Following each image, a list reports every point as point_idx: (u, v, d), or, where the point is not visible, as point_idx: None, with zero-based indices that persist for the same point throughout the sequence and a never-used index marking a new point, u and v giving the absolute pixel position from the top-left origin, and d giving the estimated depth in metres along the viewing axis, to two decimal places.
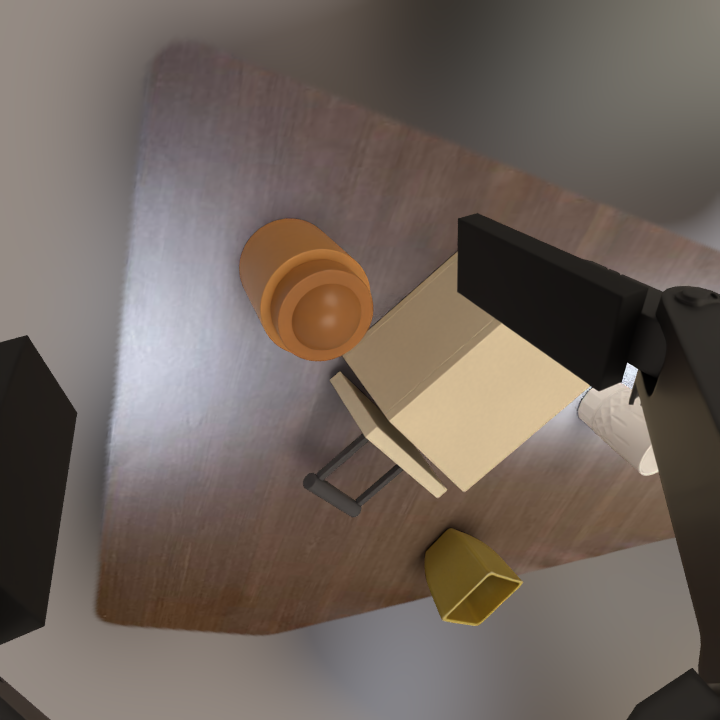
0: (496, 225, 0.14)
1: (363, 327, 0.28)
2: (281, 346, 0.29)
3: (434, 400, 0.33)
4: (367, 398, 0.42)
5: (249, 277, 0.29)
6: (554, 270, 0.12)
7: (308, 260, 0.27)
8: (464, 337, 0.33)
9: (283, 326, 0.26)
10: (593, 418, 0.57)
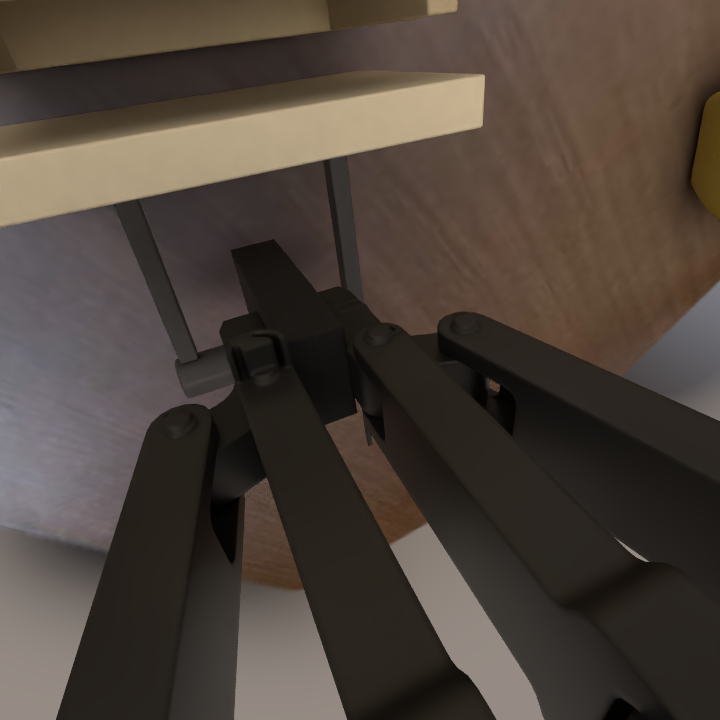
0: (277, 253, 0.14)
1: None
2: None
3: None
4: (137, 106, 0.15)
5: None
6: None
7: None
8: None
9: None
10: None
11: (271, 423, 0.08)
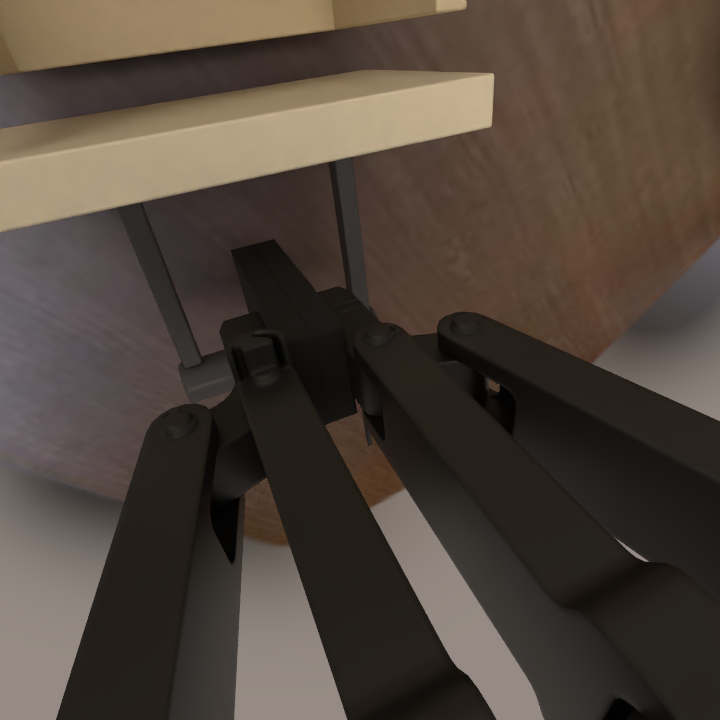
0: (278, 253, 0.14)
1: None
2: None
3: None
4: (139, 107, 0.15)
5: None
6: None
7: None
8: None
9: None
10: None
11: (271, 423, 0.08)
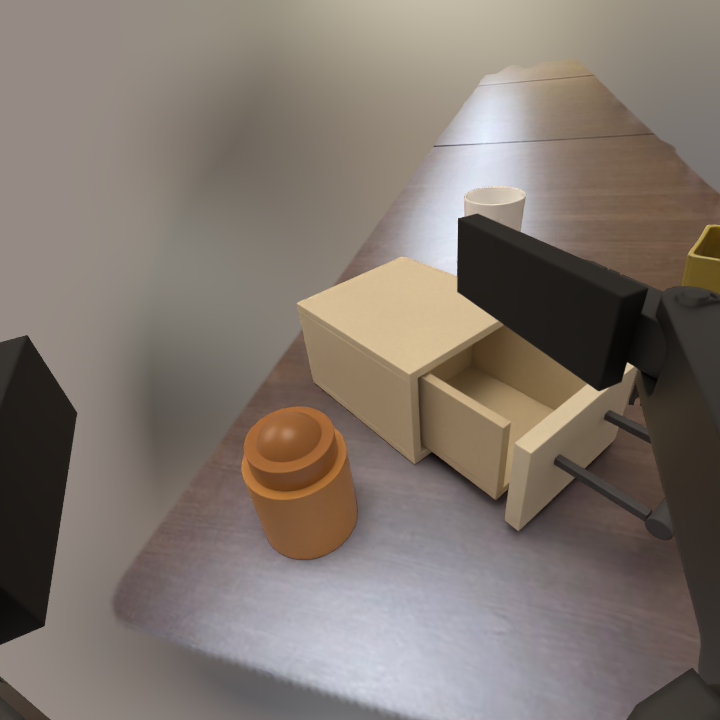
0: (496, 225, 0.14)
1: (307, 411, 0.32)
2: (328, 481, 0.29)
3: (393, 347, 0.35)
4: None
5: (283, 531, 0.30)
6: (554, 270, 0.12)
7: (249, 464, 0.31)
8: (345, 346, 0.39)
9: (284, 468, 0.28)
10: None
11: None
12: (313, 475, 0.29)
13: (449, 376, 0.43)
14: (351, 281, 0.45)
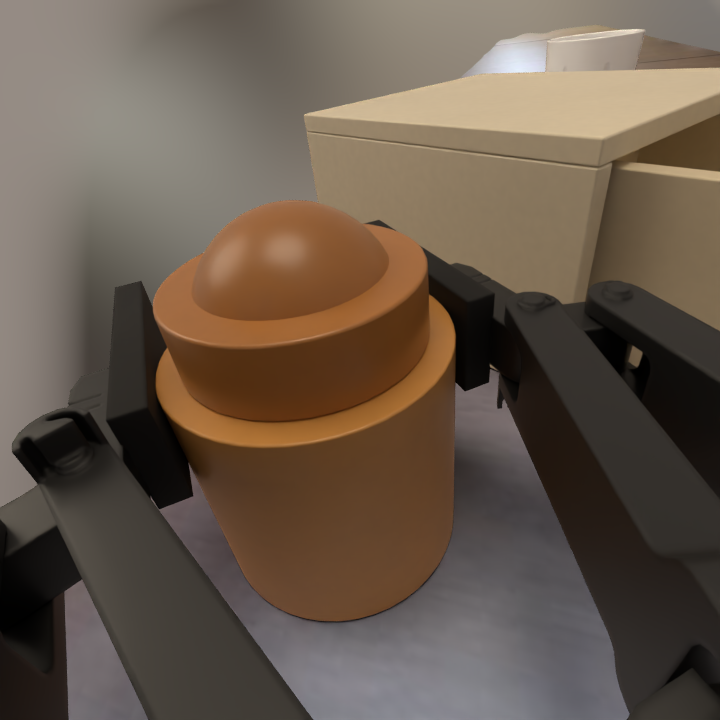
0: None
1: None
2: (418, 393, 0.09)
3: (530, 120, 0.15)
4: None
5: (277, 549, 0.10)
6: None
7: None
8: (407, 158, 0.19)
9: (278, 334, 0.08)
10: None
11: (88, 519, 0.07)
12: (373, 368, 0.09)
13: None
14: (400, 93, 0.25)
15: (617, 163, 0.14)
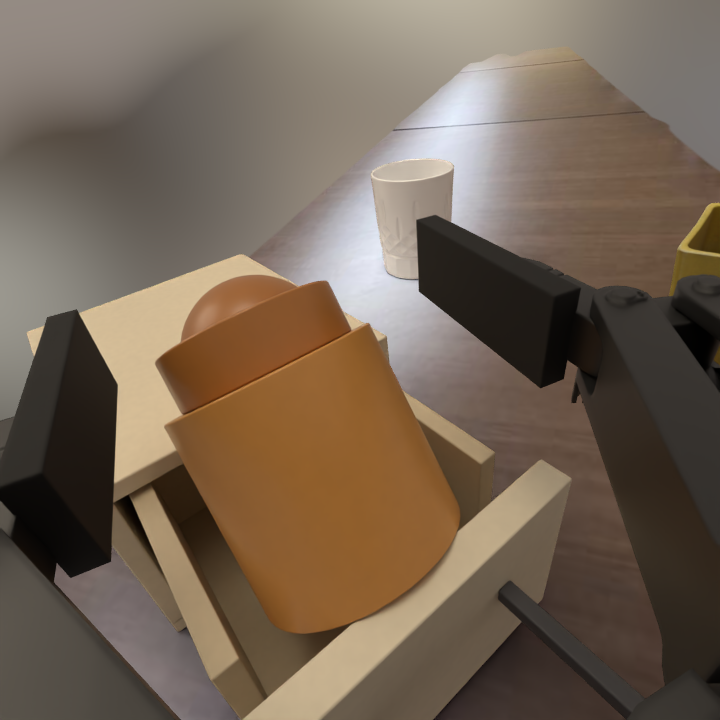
0: (451, 226, 0.14)
1: None
2: (319, 348, 0.12)
3: None
4: None
5: (256, 526, 0.12)
6: (498, 270, 0.12)
7: None
8: None
9: None
10: None
11: None
12: (280, 337, 0.12)
13: None
14: (137, 294, 0.28)
15: (141, 491, 0.17)
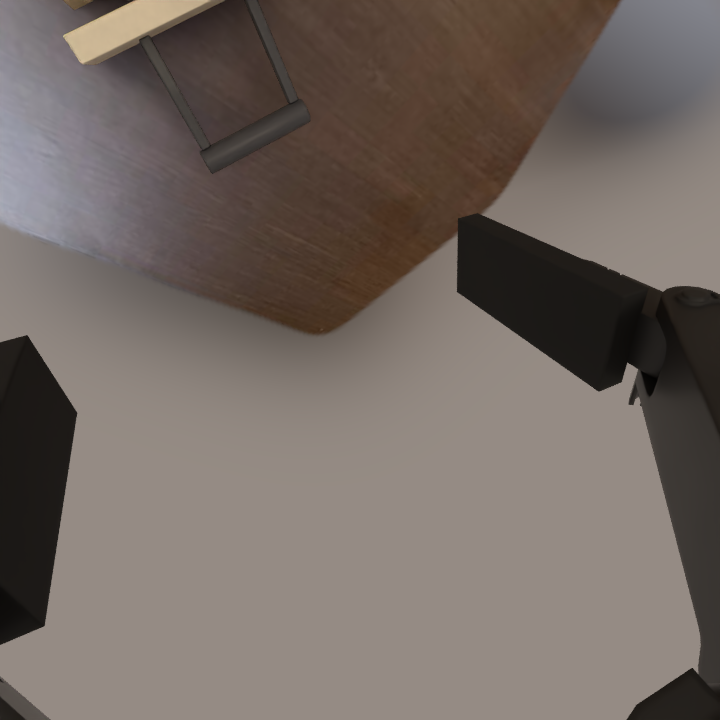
0: (496, 225, 0.14)
1: None
2: None
3: None
4: None
5: None
6: (554, 270, 0.12)
7: None
8: None
9: None
10: None
11: None
12: None
13: None
14: None
15: None
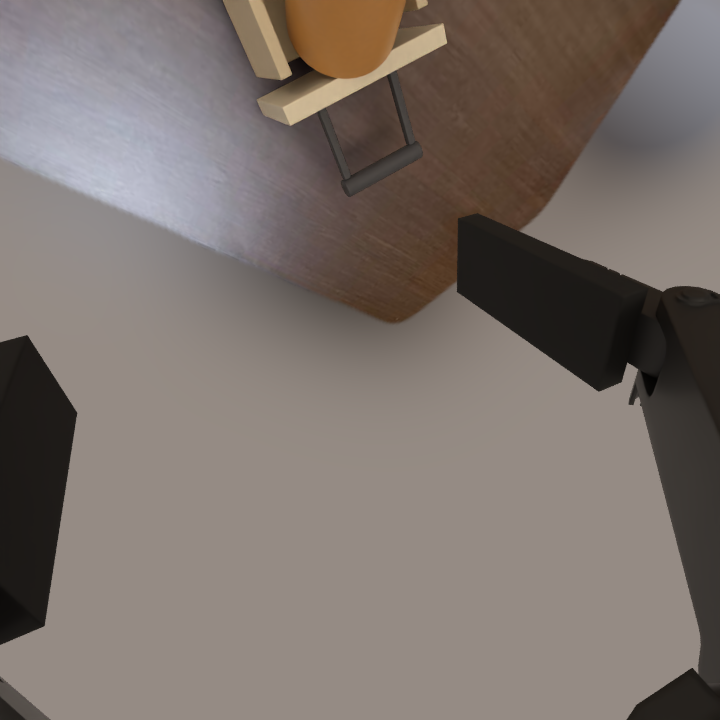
0: (496, 225, 0.14)
1: None
2: None
3: None
4: (305, 75, 0.35)
5: (322, 37, 0.26)
6: (554, 270, 0.12)
7: None
8: None
9: None
10: None
11: None
12: None
13: None
14: None
15: None
